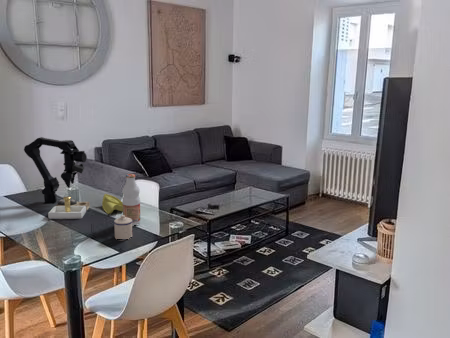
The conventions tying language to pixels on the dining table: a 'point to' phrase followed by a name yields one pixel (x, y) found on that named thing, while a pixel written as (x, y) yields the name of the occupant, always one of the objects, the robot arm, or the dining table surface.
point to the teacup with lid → (123, 227)
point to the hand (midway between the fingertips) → (70, 185)
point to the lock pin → (67, 203)
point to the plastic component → (111, 204)
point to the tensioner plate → (74, 203)
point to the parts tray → (60, 213)
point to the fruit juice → (131, 200)
